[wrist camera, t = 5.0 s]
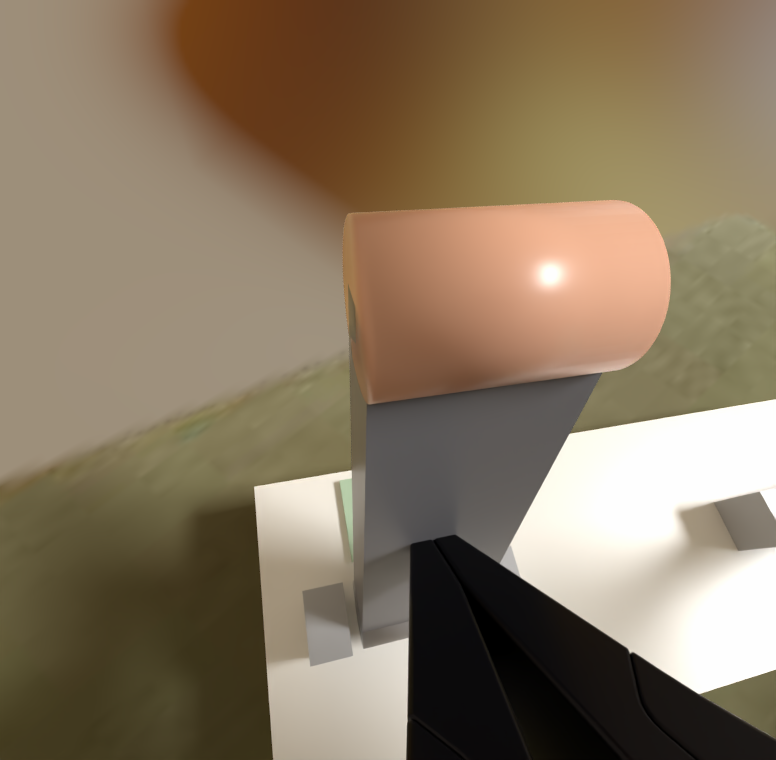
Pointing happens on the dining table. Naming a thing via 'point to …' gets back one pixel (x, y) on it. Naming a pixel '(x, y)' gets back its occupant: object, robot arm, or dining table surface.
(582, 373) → the terracotta lever
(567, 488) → the switch unit
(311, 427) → the dining table surface
